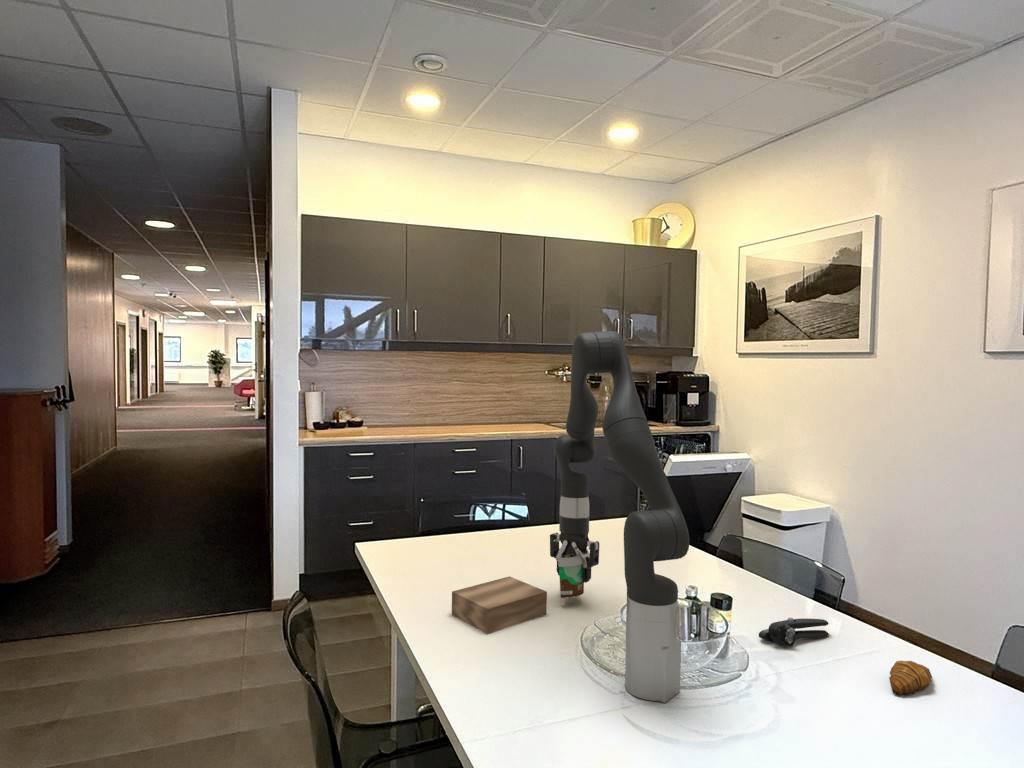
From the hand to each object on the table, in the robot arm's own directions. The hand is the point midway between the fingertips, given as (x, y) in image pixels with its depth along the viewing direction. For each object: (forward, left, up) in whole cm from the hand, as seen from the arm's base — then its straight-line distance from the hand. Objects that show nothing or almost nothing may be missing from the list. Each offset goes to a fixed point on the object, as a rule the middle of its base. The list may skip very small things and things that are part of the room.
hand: (573, 578), depth 159 cm
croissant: (-72, -9, -7) cm, 73 cm away
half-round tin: (-1, 0, -4) cm, 4 cm away
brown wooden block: (+8, +19, -7) cm, 22 cm away
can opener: (-50, -15, -7) cm, 52 cm away
